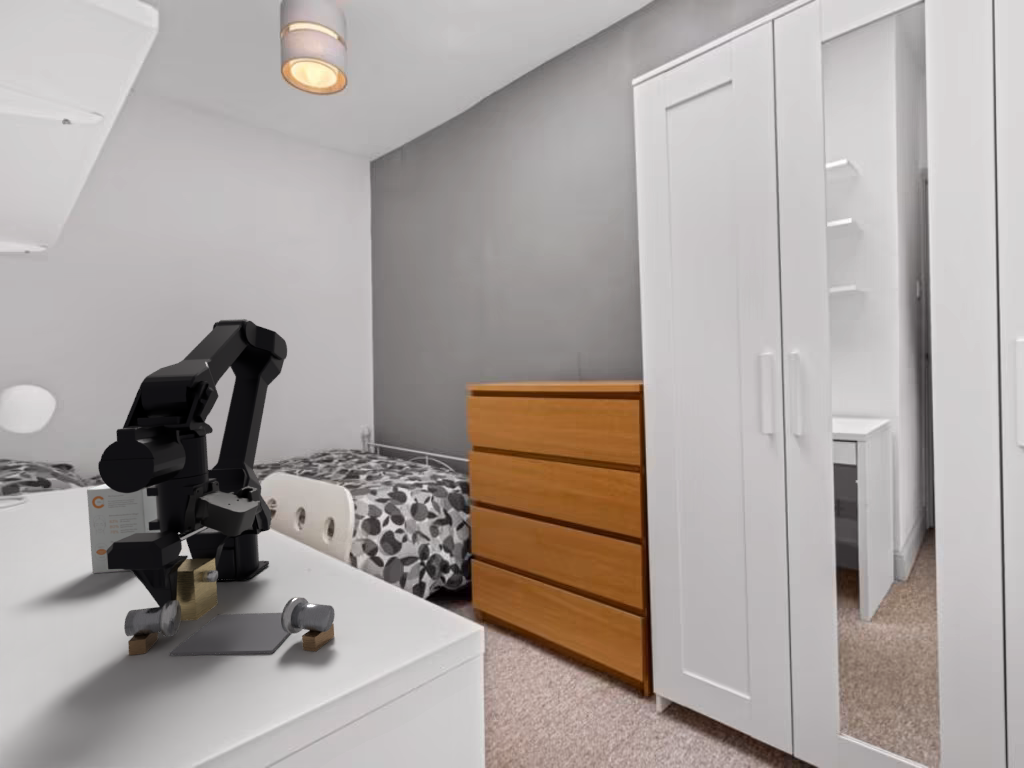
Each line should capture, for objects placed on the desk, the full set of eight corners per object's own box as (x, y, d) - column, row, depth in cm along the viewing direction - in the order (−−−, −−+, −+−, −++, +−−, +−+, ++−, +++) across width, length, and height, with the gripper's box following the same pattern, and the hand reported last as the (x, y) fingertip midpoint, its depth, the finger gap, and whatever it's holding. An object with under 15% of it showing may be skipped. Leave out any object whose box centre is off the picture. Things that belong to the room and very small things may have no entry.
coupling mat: (218, 616, 67) (218, 614, 67) (307, 614, 66) (307, 612, 66) (169, 655, 58) (169, 652, 58) (272, 653, 57) (272, 650, 57)
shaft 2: (282, 648, 58) (280, 605, 58) (304, 632, 62) (302, 591, 62) (317, 652, 57) (315, 609, 57) (338, 636, 61) (336, 595, 60)
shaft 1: (182, 635, 62) (180, 594, 62) (170, 650, 59) (167, 608, 59) (138, 640, 61) (136, 600, 61) (123, 657, 58) (121, 613, 58)
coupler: (175, 605, 71) (172, 559, 71) (226, 604, 71) (224, 557, 70) (151, 621, 66) (148, 572, 66) (206, 620, 66) (203, 570, 66)
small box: (168, 556, 91) (164, 477, 91) (147, 570, 85) (142, 485, 84) (116, 560, 90) (111, 480, 90) (90, 574, 84) (85, 489, 83)
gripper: (199, 489, 58) (208, 634, 59) (280, 459, 77) (286, 570, 78) (98, 493, 59) (107, 637, 59) (203, 462, 78) (209, 572, 78)
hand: (189, 599), depth 69 cm, fingers open, 7 cm apart
